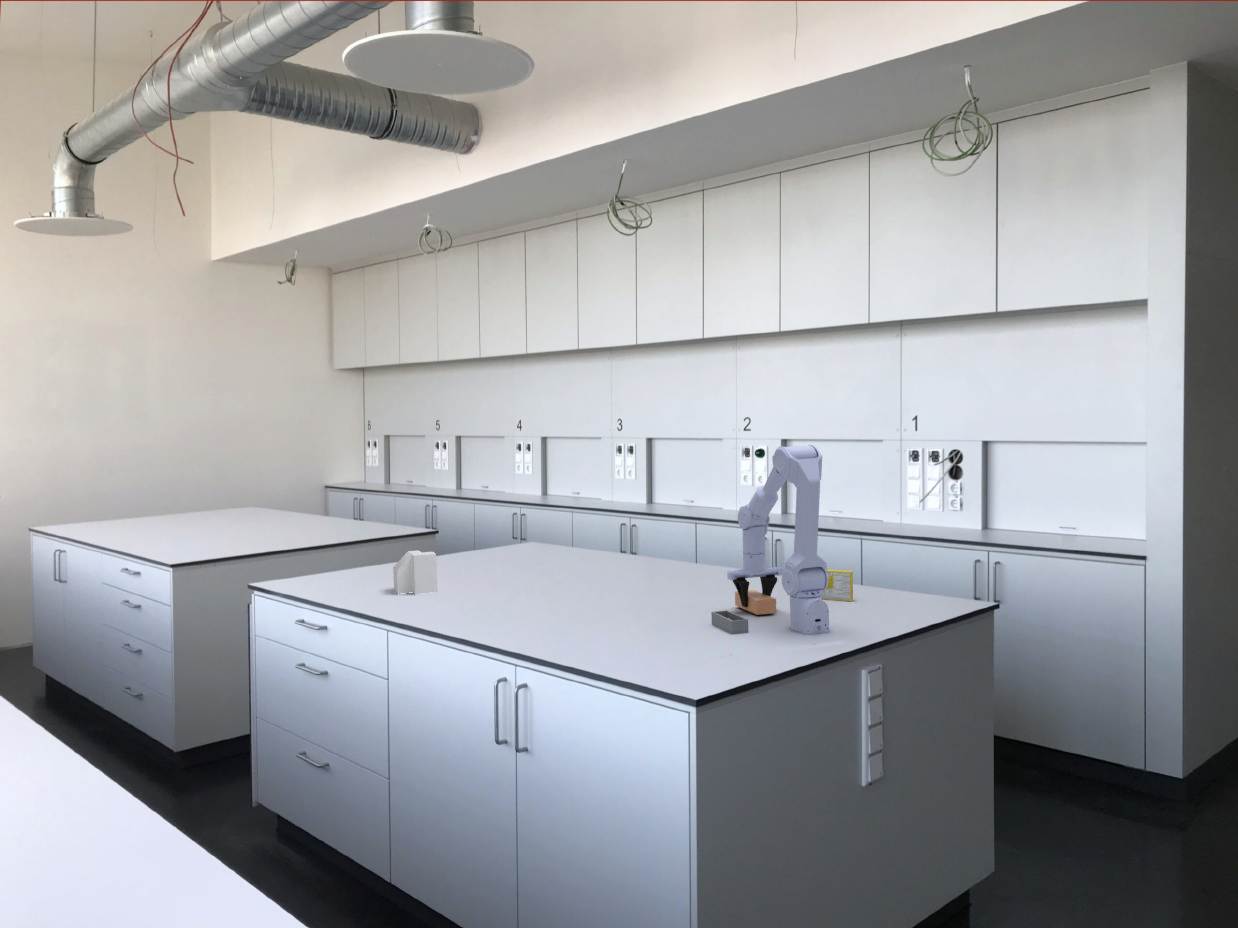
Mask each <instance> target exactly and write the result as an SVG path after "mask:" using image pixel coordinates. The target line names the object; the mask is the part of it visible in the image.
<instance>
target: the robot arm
mask: <svg viewBox="0 0 1238 928" xmlns="http://www.w3.org/2000/svg"><path fill="white" fill-rule="evenodd" d="M771 458H772V466H773V467H772V468H771V471H770V473H769V475H768V477H767V479H766V481H765V483H764V485H759V487H757V488H756V490H755V492H754V494H753V495H752V498H750V501H749V502H748V504H745V506H744V505H743V506H740V507H739V509H738V512H737V523H738V525H739V526H740V528H741V529H742V561H743V564H742V565H743V569H742V568H740V569H737V570H731V571H730V570H729V571H727V572H726V573H727V575H726V576H727V580H730V581H732V583H733V585H734V586H735V588H736V592H738V593H739V596H740V599H741V604H742V606H743V607H748V590H749V587H750V581H748V580H747V579H752V578H753V579H754V578H760V583H761V590H762V591H761V593H763V594H765V595H768V596H770V597H772V593H773V590H774V588H775V586H776V584H777V582H778V577H781V585H782V589H783V590H784V592H785V593H786V594H787V596H789V617H790V618H789V619H790V630H791V631H794V632H799V633H802V634H804V635H815V634H816V635H817V634H824V633H829V632H830V609H829V605H828V604H827V603H826V602H825V600H823V599H822V598H821V595H824V590H826V588H827V586H828V582H829V578H828V573H827V570H828V568H827V567H828V565H827V564H828V562H826V561H825V560H824V558H822V557H821V556H819V555H818V542H819V541H818V540H819V536H818V535H819V514H820V494H821V493H820V492H821V480H822V473H823V472H822V471H823V470H822V469H823V455H822V454H821V452H820V450H819V449H818V447H817V446H815V445H814V444H809V445H797V446H795V445H794V446H778V447H777V448H776V449H775V451H774V453H773V455H772V457H771ZM786 481H787V482H788V483H791V484H793V485H794V487H795V489H796V495H795V515H794V516H795V518H794V519H795V521H794V541H793V542H794V543H793V553H792V555H790V557H788V559H786V561H785V562H784V569H783V570H782V568H783V567H779V566H773V567H767V561H766V559H767V558H766V557H767V555H766V553H767V552H766V535H767V533H768V526H769V525H770V521H771V520H770V518H771V517H770V513H771V511H772V510H773V508H774V507H775V505H776V504H777V502H778V500H779V495H778V492H779V491H780V490H781V488H782V486H784V484H785V482H786ZM782 572H783V573H782ZM777 576H778V577H777Z"/></svg>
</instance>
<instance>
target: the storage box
mask: <svg viewBox="0 0 1238 928" xmlns="http://www.w3.org/2000/svg"><path fill="white" fill-rule="evenodd" d="M728 618H730V619H732V620H734V621H732V620H730V619H728ZM711 625H712V626H715V627H717V628H719V629H720V630H723V631H725V632H726V633H729V634H731V635H738V634H746V633H749V619H748V618H745V617H743V616H741V615H739V614H736V613H734V612H732V611H729V610H727V609H726V610H718V611H716V610H715V611H711Z"/></svg>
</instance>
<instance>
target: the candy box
mask: <svg viewBox="0 0 1238 928" xmlns="http://www.w3.org/2000/svg"><path fill="white" fill-rule="evenodd" d="M827 573H828V578H829V582H828V586H827V588H826V590H824V595H821V598H822V600H823V601H825V600H826V601H839V602H849V603H852V602H853V601H854V579H853V578H854V571H853V570H838V569H837V570H836V569H827Z"/></svg>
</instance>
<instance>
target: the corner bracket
mask: <svg viewBox="0 0 1238 928" xmlns="http://www.w3.org/2000/svg"><path fill="white" fill-rule="evenodd" d="M437 565H438V564H437V553H435V552H434V551H426V552H425V551H420V550H408V551H407V552H406V553H405V554H404V555H402V557H401V558H400V559H399V560H398V561H397V563H396V564H395V565H394V566H393V567H392V569H393V571H392V573H393V591H394V590H395V591H396V592H397V593H398V594H400V593H409V592H414V593H415V594H420V593H429V592H438V571H437V569H438V567H437ZM395 591H394V592H395ZM396 592H395V593H396ZM397 593H396V594H397ZM438 593H439V592H438ZM415 594H414V595H415Z"/></svg>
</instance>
